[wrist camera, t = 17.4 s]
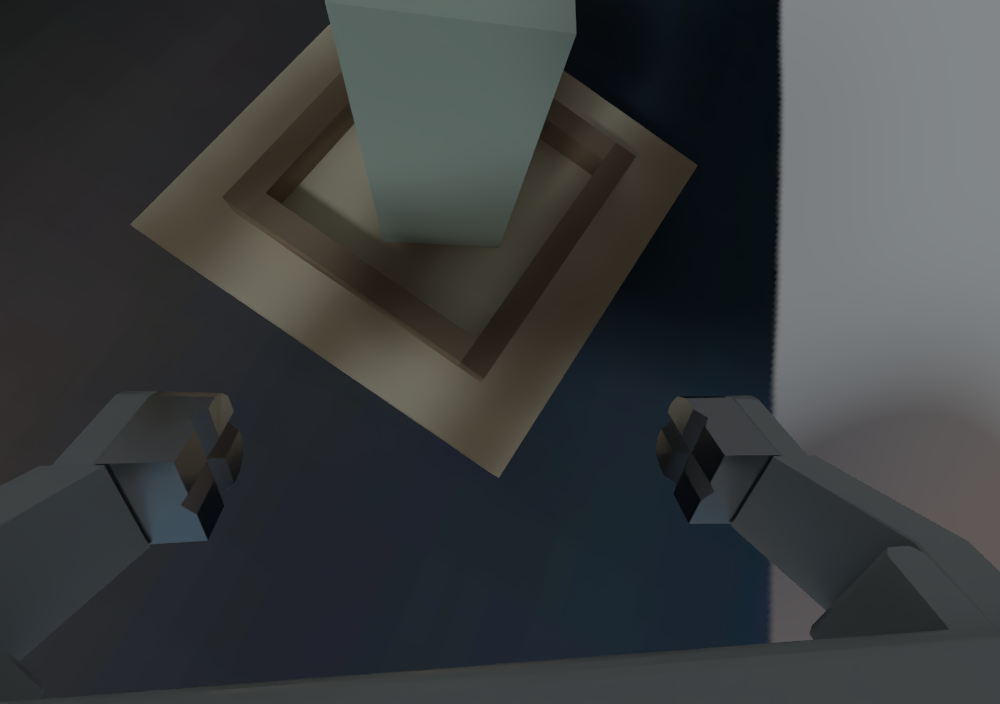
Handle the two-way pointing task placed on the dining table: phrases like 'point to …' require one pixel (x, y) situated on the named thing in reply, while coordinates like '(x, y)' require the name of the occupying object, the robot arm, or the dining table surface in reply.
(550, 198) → the plinth
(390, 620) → the dining table surface
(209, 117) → the dining table surface
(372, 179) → the sage block
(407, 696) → the robot arm
